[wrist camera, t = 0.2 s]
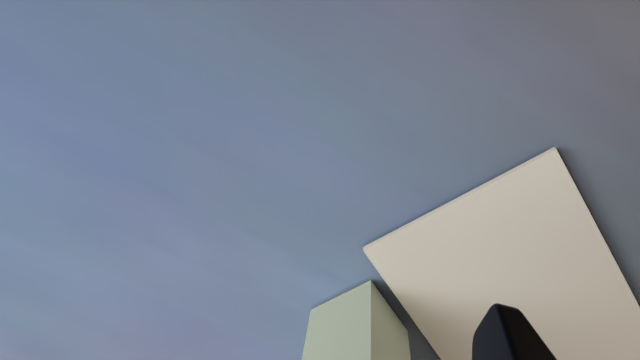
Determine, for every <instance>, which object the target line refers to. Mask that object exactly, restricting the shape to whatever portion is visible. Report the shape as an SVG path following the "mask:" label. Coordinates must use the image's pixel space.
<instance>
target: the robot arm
mask: <svg viewBox="0 0 640 360" xmlns="http://www.w3.org/2000/svg"><path fill="white" fill-rule="evenodd" d="M472 360H557V359H556V358H555V356H554V355H553V354H552V352H551V351H550V349H549V348H548V347H547V345H546V344H545V343H544V341H543V340H542V339H541V337H540V336H539V335H538V333H537V332H536V331H535V329H534V328H533V326H532V325H531V324H530V322H529V321H528V320H527V318H526V317H525V316H524V314H523V313H522V312H521V311H520V310H519V309H517V308H515V307H511V306H507V305H503V304H499V303H495V304H493V305H492V306H491V307H490V308H489V310H488V311H487V313H486V315H485V316H484V318H483V319H482V321H481V322H480V324H479V326H478V327H477V329H476V331H475V333H474V336H473V341H472Z"/></svg>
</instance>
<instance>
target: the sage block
mask: <svg viewBox="0 0 640 360" xmlns="http://www.w3.org/2000/svg"><path fill="white" fill-rule="evenodd" d="M302 360H411V357H410V347H409V338H408V331H407V330H406V328H405V327H404V325H403V324H402V323H401V321H400V320H399V318H398V317H397V316H396V314H395V313H394V312H393V310H392V309H391V307H390V306H389V305H388V303H387V302H386V301H385V299H384V298H383V296H382V295H381V294H380V292H379V291H378V289H377V288H376V287H375V285H374V284H373V283H372V281H371V280H370V281H368V282H366V283H364V284H362V285H360V286H358V287H356V288H354V289H352V290H350V291H348V292H346V293H344V294H342V295H340V296H338V297H336V298H334V299H332V300H330V301H328V302H326V303H324V304H322V305H320V306H318V307H316V308H314V309H312V310H311V312H310V318H309V323H308V329H307V334H306V340H305V345H304V351H303V356H302Z"/></svg>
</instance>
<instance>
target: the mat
mask: <svg viewBox="0 0 640 360" xmlns="http://www.w3.org/2000/svg"><path fill="white" fill-rule="evenodd" d="M363 251H364V252H365V254H366V255H367V257H368V258H369V259H370V261H371V262H372V264H373V265H374V266H375V268H376V269H377V271H378V272H379V273H380V275H381V276H382V278H383V279H384V280H385V282H386V283H387V285H388V286H389V287H390V289H391V290H392V292H393V293H394V294H395V296H396V297H397V299H398V300H399V301H400V303H401V304H402V306H403V307H404V308H405V310H406V311H407V313H408V314H409V315H410V317H411V318H412V320H413V321H414V322H415V324H416V325H417V327H418V328H419V329H420V331H421V332H422V334H423V335H424V336H425V338H426V339H427V341H428V342H429V343H430V345H431V346H432V348H433V349H434V350H435V352H436V353H437V355H438V356H439V357H440V359H441V360H472V341H473V336H474V333H475V331H476V329H477V327H478V326H479V324H480V322H481V321H482V319H483V318H484V316H485V315H486V313H487V311H488V310H489V308H490V307H491V306H492V305H493V304H495V303H499V304H503V305H507V306H511V307H515V308H517V309H519V310H520V311H521V312H522V313H523V314H524V316H525V317H526V318H527V320H528V321H529V322H530V324H531V325H532V326H533V328H534V329H535V331H536V332H537V333H538V335H539V336H540V337H541V339H542V340H543V341H544V343H545V344H546V345H547V347H548V348H549V349H550V351H551V352H552V354H553V355H554V356H555V358H556V359H557V360H640V307H639V305H638V303H637V301H636V299H635V297H634V295H633V293H632V292H631V290H630V288H629V286H628V284H627V282H626V280H625V278H624V276H623V274H622V273H621V271H620V269H619V267H618V265H617V263H616V261H615V259H614V257H613V255H612V254H611V252H610V250H609V248H608V246H607V244H606V242H605V240H604V238H603V237H602V235H601V233H600V231H599V229H598V227H597V225H596V223H595V221H594V219H593V218H592V216H591V214H590V212H589V210H588V208H587V206H586V204H585V202H584V200H583V199H582V197H581V195H580V193H579V191H578V189H577V187H576V185H575V183H574V181H573V180H572V178H571V176H570V174H569V172H568V170H567V168H566V166H565V164H564V162H563V161H562V159H561V157H560V155H559V153H558V151H557V149H556V148H555V147H553V148H551V149H550V150H548V151H546V152H544V153H542V154H540V155H538V156H536V157H534V158H532V159H530V160H528V161H527V162H525V163H523V164H521V165H519V166H517V167H515V168H513V169H511V170H509V171H507V172H506V173H504V174H502V175H500V176H498V177H496V178H494V179H492V180H490V181H488V182H486V183H485V184H483V185H481V186H479V187H477V188H475V189H473V190H471V191H469V192H467V193H465V194H463V195H462V196H460V197H458V198H456V199H454V200H452V201H450V202H448V203H446V204H444V205H442V206H441V207H439V208H437V209H435V210H433V211H431V212H429V213H427V214H425V215H423V216H421V217H420V218H418V219H416V220H414V221H412V222H410V223H408V224H406V225H404V226H402V227H400V228H398V229H397V230H395V231H393V232H391V233H389V234H387V235H385V236H383V237H381V238H379V239H377V240H376V241H374V242H372V243H370V244H368V245H366V246H364V247H363Z"/></svg>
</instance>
